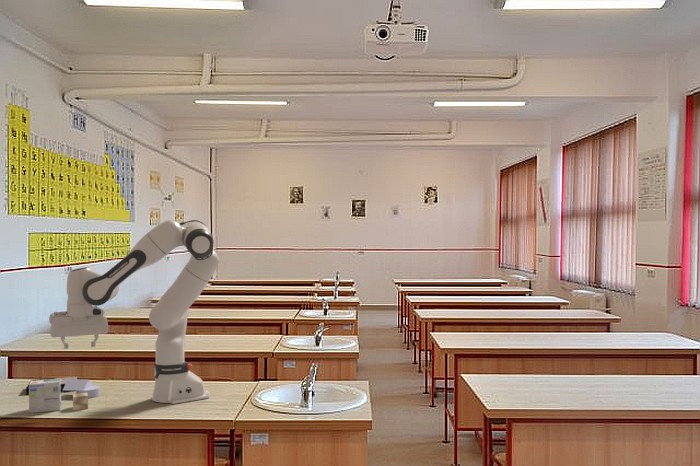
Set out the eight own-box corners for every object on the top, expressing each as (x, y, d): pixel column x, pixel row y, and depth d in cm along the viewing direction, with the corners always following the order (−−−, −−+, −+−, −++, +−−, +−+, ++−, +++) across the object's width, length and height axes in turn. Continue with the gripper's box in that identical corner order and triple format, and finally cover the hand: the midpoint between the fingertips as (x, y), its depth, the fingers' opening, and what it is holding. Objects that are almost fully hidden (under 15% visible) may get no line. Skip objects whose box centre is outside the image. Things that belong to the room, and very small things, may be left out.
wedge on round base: (62, 398, 264) (94, 398, 263) (62, 381, 264) (94, 382, 263) (73, 393, 273) (104, 393, 272) (73, 376, 273) (104, 377, 272)
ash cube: (87, 405, 253) (87, 392, 253) (88, 408, 249) (87, 395, 249) (73, 407, 251) (72, 394, 251) (73, 410, 247) (73, 397, 247)
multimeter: (30, 388, 283) (30, 376, 283) (79, 385, 289) (78, 373, 289) (25, 395, 271) (25, 383, 271) (76, 391, 277) (76, 379, 277)
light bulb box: (61, 406, 253) (61, 377, 253) (60, 410, 246) (60, 381, 246) (30, 409, 249) (30, 380, 249) (28, 413, 243) (28, 384, 243)
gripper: (49, 313, 243) (49, 351, 243) (108, 310, 251) (108, 346, 251) (49, 311, 248) (49, 348, 248) (107, 308, 257) (107, 344, 257)
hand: (79, 347), depth 250 cm, fingers open, 8 cm apart
